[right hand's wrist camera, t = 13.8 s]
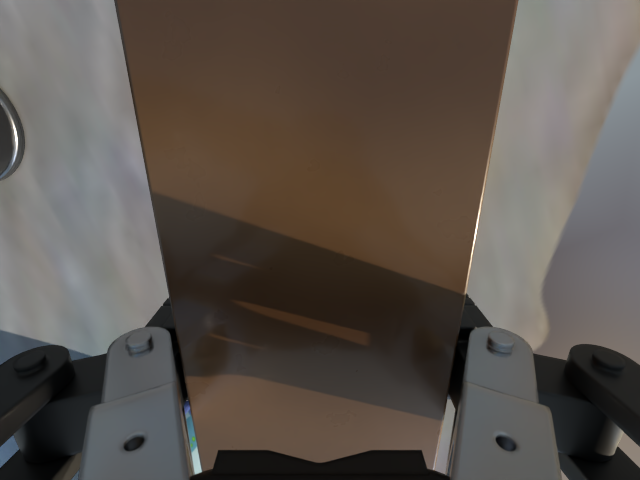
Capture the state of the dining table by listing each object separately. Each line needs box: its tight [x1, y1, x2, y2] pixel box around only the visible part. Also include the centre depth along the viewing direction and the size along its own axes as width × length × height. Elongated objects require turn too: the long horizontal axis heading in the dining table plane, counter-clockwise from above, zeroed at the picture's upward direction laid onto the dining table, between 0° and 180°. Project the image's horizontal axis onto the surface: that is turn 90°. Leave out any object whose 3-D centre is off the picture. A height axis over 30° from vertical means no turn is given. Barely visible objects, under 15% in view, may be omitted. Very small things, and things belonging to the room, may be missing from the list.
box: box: [114, 0, 518, 472], centre depth 10 cm, size 21×6×12 cm, turn 0°
